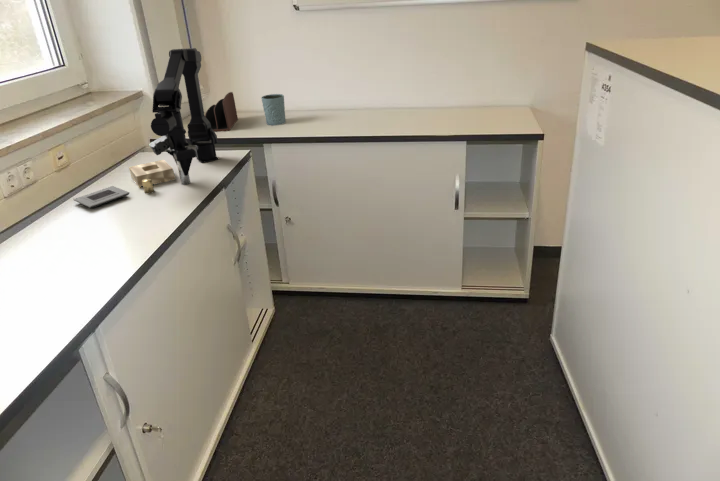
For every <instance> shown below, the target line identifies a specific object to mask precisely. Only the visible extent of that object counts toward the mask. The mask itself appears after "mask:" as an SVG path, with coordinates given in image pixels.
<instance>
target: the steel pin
mask: <svg viewBox="0 0 720 481" xmlns="http://www.w3.org/2000/svg"><path fill="white" fill-rule="evenodd" d="M176 166H177V169H178V174H179V179H180V183H181V185H182V186H183V185H186V186H187V185H189V184H191V183H192V182H191V177H190V172H189V173H188V175H186V176H185V175H184V173H183V171H182V168H181V166H180V163H179V162H178V161H177V164H176Z"/></svg>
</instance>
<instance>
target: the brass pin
mask: <svg viewBox="0 0 720 481" xmlns="http://www.w3.org/2000/svg"><path fill="white" fill-rule="evenodd" d="M142 184H143V187H142V188H143V191H144V194H146V193H149V194H153V193H154V192H155V189H154V185H153V183H152V179H144V180H142ZM152 192H153V193H152Z"/></svg>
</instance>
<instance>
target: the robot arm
mask: <svg viewBox="0 0 720 481" xmlns="http://www.w3.org/2000/svg"><path fill="white" fill-rule="evenodd" d="M168 57H169V58H168V61H167V65H166V69H165V72H164V76H163V79H162V80H161V81H160V82H159V83H157V84H156V87H155V89H154V92H153V96H152V110H151V111H152V113H153V114H154V118H153V119H152V121H151V123H150V129H151V131H152V132H153V133H154V134H155V135H157V136H159V137H158V138H157V139H155V140H154V141H151V142H150V143H149V144H148V145H149V147H150V149H151V150H152V151H153V153H154V154H155V155H156V156H159V155H161V154H163V153H164V152H165V151H166V153H167V154H168V155H170V156H172V158H173V160H174V162H175V164H176V165H177V161H178V162H179V163H180V166H181V168H182V171H183V173H184V175H185V176H186V175H188V173H189V174H190V170H191V169H190V168H191V165H192V161H193V159H194V158H196V160H197V161H199V162H200V163H208V162H213V161H217V160H219V157H218V156H217V150H216V147H215V145H216V144H218V134H216V132H214V131H213V129H212V128H211V124H210V122H209V121H208V119H207V118H206V117H205V112H204V104H203V98H202V93H201V92H202V91H201V86H200V80H199V73H200V70H201V68H202V54H201V52H200V51H198V49H197V48H195V47H194V48H193V47H192V48H173V49H171V50H169V52H168ZM182 77H183V78H184V84H185V88H186V89H185V90H186V95H187V96H186V97H187V102H188V106H189V107H188V108H189V112H190V120H189V123H187V126H186V127H187V131H186V129H185V128H184V123H183V118H182V113H181V109H182V107H181V105H182V102H183V94H182V91H181V90H180V84H181V81H182V80H181V79H182ZM186 134H187V135H188V136H186ZM186 137H188V140H189V142H190V145H191V146H195V148H192V147H191V146H190V145H189V142H188V141H187V138H186Z"/></svg>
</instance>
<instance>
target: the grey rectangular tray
mask: <svg viewBox="0 0 720 481" xmlns="http://www.w3.org/2000/svg"><path fill="white" fill-rule="evenodd" d="M129 194H130V192H129V191H127V190H125V189H121V188H120V187H117V186H113V185H112V186H108V187H105V188H102V189H100V190H96V191H93V192H90V193H88V194H84V195H82V196H79V197H76V198H73V201H75V202H76V203H78V204H81V205H82V206H85V207H87V208H90V209H94V208H97V207H99V206H103V205H105V204H108V203H111V202H112V201H116V200H118V199H122V198H123V197H127V196H129Z"/></svg>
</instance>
